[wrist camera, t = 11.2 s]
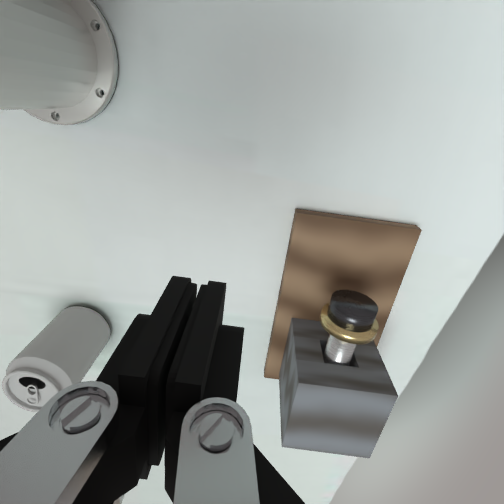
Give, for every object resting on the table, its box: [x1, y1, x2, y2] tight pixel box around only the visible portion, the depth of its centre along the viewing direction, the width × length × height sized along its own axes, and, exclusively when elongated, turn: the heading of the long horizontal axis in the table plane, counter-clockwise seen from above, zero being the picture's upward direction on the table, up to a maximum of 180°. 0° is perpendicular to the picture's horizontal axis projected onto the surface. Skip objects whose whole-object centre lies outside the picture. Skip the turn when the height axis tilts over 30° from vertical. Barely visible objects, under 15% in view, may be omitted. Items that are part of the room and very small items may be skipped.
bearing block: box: [264, 209, 421, 458], centre depth 36 cm, size 25×14×12 cm, turn 173°
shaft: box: [320, 290, 379, 366], centre depth 37 cm, size 19×6×6 cm, turn 173°
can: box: [2, 306, 110, 412], centre depth 40 cm, size 8×8×12 cm
